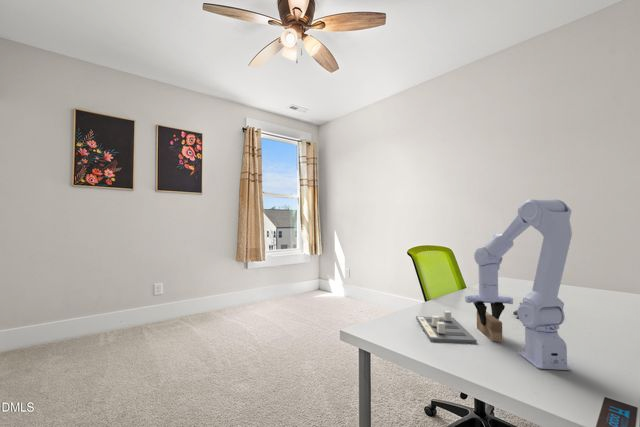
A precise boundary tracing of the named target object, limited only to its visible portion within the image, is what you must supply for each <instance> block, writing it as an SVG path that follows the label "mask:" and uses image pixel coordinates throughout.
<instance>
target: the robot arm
mask: <svg viewBox="0 0 640 427" xmlns="http://www.w3.org/2000/svg"><path fill="white" fill-rule="evenodd" d="M571 215H572V209H571V208H570V207H569V206H568V205H567V204H566V203H565V201H563V200H561V199H533V198H529V199H527V200H525V201H524V202H523V203H522V204H521V205H520V206H519V207H518V208H517V214H516V216H515V217H514V219H513V220H512V221H511V222H510V223H509V225H508V226H507V227H506V229H504V231H503V232H498V233H494V234H493V236H492V238H491V239H490V240H489V241H488V242H487V243H486V244H485V246H484V247H478V248H476V249H475V252H474V254H473V256H474V260H475V264H476V265H477V266H478V294H477V295H464V301H465V303H467V304H471V303H472V304H473V305H474V307H475V308H476V309H475V310H476V312H477V311H478V314H479V317H480V321H481V324H482V325H486V312H487V308H488V306H486V304H490V309H491V315H492V316H493V317H495V318H496V319H498V320H499V319H500V316H501V315H502V313H503V311H504V310H505V308H506V306H505V305H506V304H507V305H508V304H509V305H514V298H513V297H511V296H501V295H499V271H500V269H501V268H500V266H501V264H502V262H503V256H504V255H505V254H507V253H508V251H510V250H511V249H512V247H513V246H514V240H516V239H517V238H518V237H519V236H520V235H521V234H523V233H524V232H525V231H526V230H527V229H528V228H530V226H532V227H533V228H534V229H535V230H536V231H538V232H539V233H540V234H541V235H542V236H543V239H542V242H541V243H542V244H541V249H540V253H539V258H538V261H537V267H536V271H535V276H534V280H533V285H532V289H531V291H530V292H529V293H527V294H526V295H525V296H523V299H522V301H521V303H522V304H521V305H520V304H519V306H518V307H517V310H518V316H517V317H518V319H519V321H520V323H522V326H523V327H524V340H525V341H524V342H525V345H524V346H525V350H524V351H521V350H519V351H518V354H520V355H521V356H522V357H523V358H524V359H525V360H527V361H528V362H529V363H530V364H532V365H533V366H534V367H536V369H539V370H541V369H542V370H559V371H561V370H562V371H571V370H572V368H571V367H570V366H568V349H567V348H568V347H567V343H566V341H565V340H564V339H563V337H561V336H560V334H559V332H558V330H560V325H562V324H563V323H564V321H565V316H566V315H565V312H564V306H565V303H564V302H563V301H562V300H561V299H560V298H559V296H558V295H559V290H560V286H561V282H562V278H563V275H564V274H563V273H564V270H565V265H566V261H567V258H568V253H569V249H570V245H571V240H572V236H573V230H572V226H571V221H570V220H571V219H570V218H571ZM499 321H500V320H499Z"/></svg>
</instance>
